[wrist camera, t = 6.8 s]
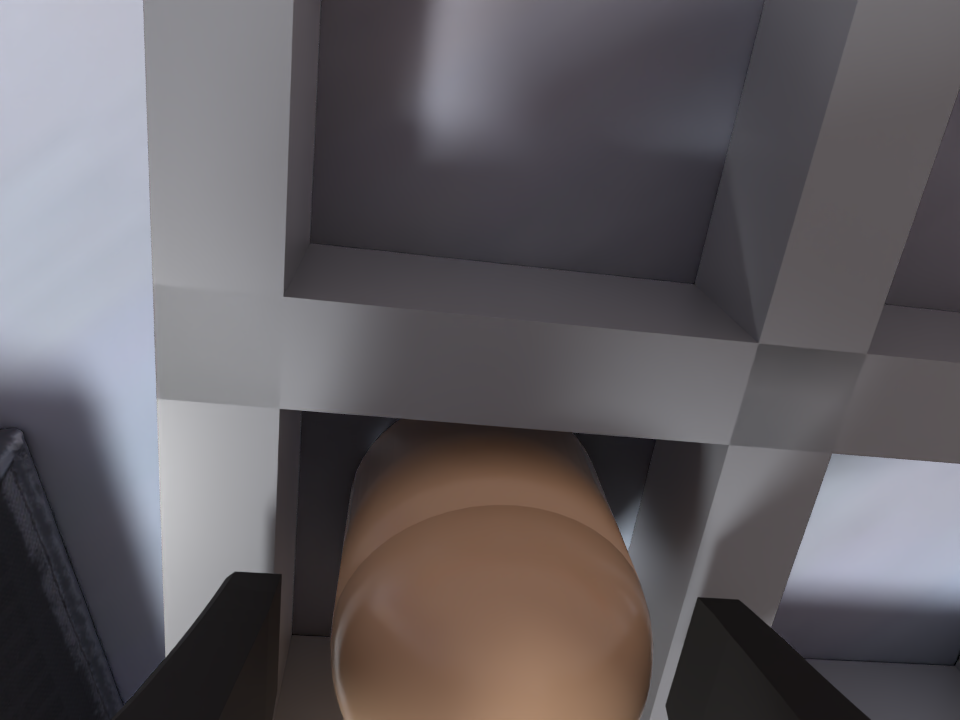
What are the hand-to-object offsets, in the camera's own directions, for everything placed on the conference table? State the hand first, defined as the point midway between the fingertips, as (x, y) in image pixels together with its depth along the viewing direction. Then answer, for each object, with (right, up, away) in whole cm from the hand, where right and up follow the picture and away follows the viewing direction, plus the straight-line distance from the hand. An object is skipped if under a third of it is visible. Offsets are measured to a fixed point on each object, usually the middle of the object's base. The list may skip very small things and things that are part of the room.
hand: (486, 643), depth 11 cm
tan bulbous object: (0, +1, +3) cm, 3 cm away
